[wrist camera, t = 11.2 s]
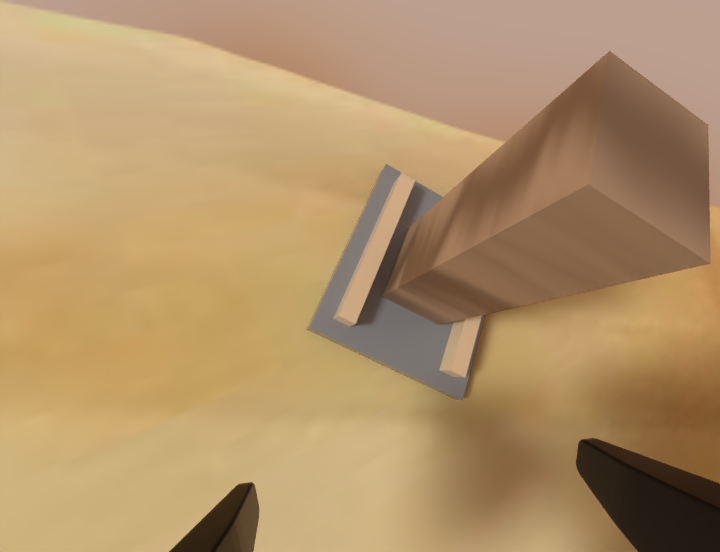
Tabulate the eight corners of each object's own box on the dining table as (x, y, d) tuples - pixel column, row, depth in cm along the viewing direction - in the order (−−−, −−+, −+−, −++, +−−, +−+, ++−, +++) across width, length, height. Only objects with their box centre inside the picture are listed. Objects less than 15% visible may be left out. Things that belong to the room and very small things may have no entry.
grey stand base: (454, 399, 20) (475, 402, 18) (306, 329, 18) (313, 324, 17) (498, 238, 24) (518, 228, 23) (381, 170, 23) (393, 153, 21)
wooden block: (438, 325, 20) (711, 264, 8) (381, 296, 20) (588, 184, 8) (460, 257, 22) (709, 125, 10) (408, 228, 21) (609, 51, 9)
